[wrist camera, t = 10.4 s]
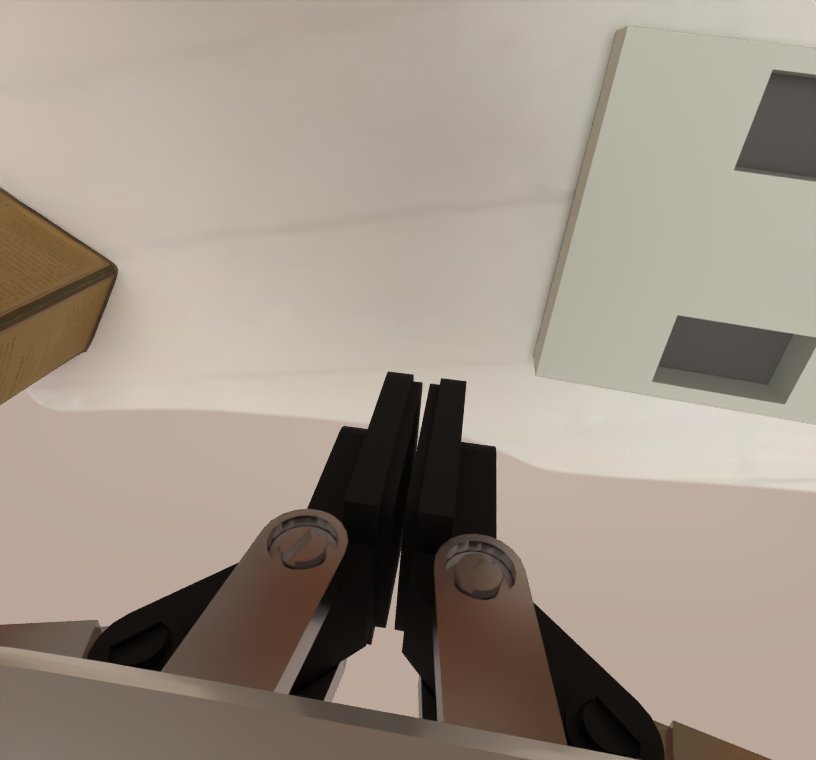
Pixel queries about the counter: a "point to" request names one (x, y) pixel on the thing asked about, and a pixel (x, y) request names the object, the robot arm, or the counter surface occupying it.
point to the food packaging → (44, 296)
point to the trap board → (694, 229)
